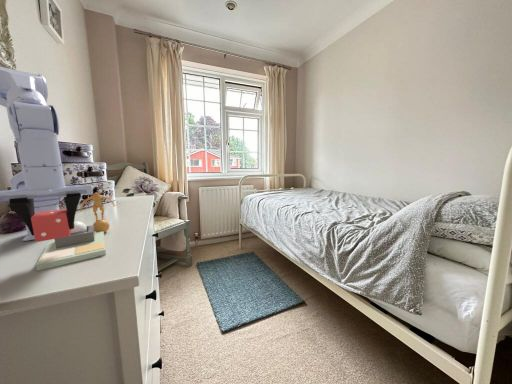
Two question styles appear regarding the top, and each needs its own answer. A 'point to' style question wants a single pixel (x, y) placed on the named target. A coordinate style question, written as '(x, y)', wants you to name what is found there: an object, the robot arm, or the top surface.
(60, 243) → the housing
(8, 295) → the top surface
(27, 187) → the robot arm
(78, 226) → the white ball
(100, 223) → the figurine
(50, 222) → the die
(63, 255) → the board
